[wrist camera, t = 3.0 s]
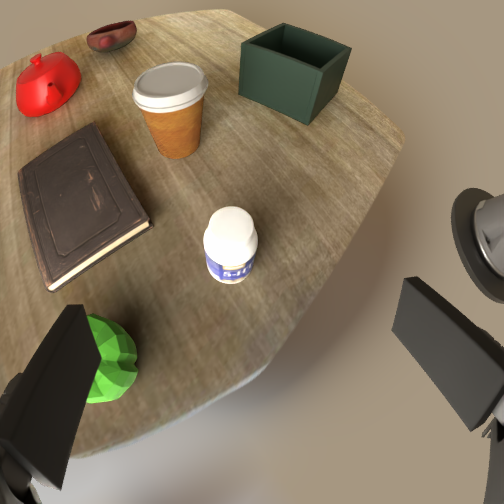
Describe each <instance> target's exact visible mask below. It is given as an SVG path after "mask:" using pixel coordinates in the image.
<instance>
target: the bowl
mask: <svg viewBox="0 0 504 504" xmlns="http://www.w3.org/2000/svg"><path fill="white" fill-rule="evenodd" d="M136 33H137V29H136V25H135V23H134V22H133V21H123V22H119V23H114V24H110V25H107V26H104V27H101V28H99V29H97V30H95V31H93V32H91V33H90V34H89V35H88V36H87V44H88V46H89V48H90V49H92V50H94V51H98V52H109V51H112V50H116V49H119V48H121V47H123V46H125V45H127V44H128V43H130V42H131V41H132V40H133V39H134V37H135V35H136Z"/></svg>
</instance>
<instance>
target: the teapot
mask: <svg viewBox="0 0 504 504" xmlns="http://www.w3.org/2000/svg"><path fill="white" fill-rule="evenodd" d="M41 57H42V55H41V54H37V55H35V56H34V57H33V58H31V59H30V62H31V63H32V64H31V65H30V66H28V67H27V68H26V69H25V70H24V71H23V72H22V73H21V74H20V76H19V77H18V79H17V83H16V102H17V106H18V109H19V111H20V112H22V113H23V114H24V115H25V116H27V117H38V116H42V115H45V114H48V113H50V112H52V111H54V110H56V109H57V108H59V107H60V106H62V105H63V104H64V103H65V102H67V100H69V98H70V97H71V96H72V95H73V94H74V93H75V91H76V90H77V88H78V85H79V83H80V81H81V73H80V69H79V68H78V66H77V64H76V63H75V62H74V61H73V60H72V59H70V58H69V57H68V56H67V55H65V54H64V53H62V52H56V53H51V54H49V55H46V56H44V57H42V58H41Z"/></svg>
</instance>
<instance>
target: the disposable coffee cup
mask: <svg viewBox="0 0 504 504" xmlns="http://www.w3.org/2000/svg"><path fill="white" fill-rule="evenodd" d="M207 87H208V79H207V77H206V76H205V75H204V73H203V70H202V69H201V68H200V67H199V66H197V65H195V64H193V63H188V62H168V63H163V64H160V65H157V66H154V67H152V68H150V69H148V70H146V71H145V72H143V73H142V74H141V75H140V76H139V77H138V78H137V79H136V81H135V83H134V89H133V93H132V97H133V100H134V102H135V103H136V104H137V105H138V106H139V107H140V110H141V112H142V114H143V116H144V119H145V121H146V123H147V126H148V128H149V130H150V132H151V134H152V137H153V139H154V141H155V143H156V145H157V148H158V150H159V152H160V153H161V154H162V155H163V156H165V157H168V158H172V159H178V158H183V157H186V156H189V155H190V154H192V153H193V152H194V151H196V149H197V148H198V146H199V143H200V132H201V121H202V110H203V100H204V93H205V92H206V90H207Z"/></svg>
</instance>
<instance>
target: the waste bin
mask: <svg viewBox="0 0 504 504" xmlns="http://www.w3.org/2000/svg"><path fill="white" fill-rule="evenodd" d="M351 49H352V48H350V47H347V46H345V45H343V44H341V43H338V42H336V41H334V40H331V39H328V38H326V37H323V36H321V35H318V34H315V33H313V32H309V31H307V30H304V29H301V28H298V27H295V26H292V25H289V24H286V23H282V24H279V25H277V26H275V27H273V28H271V29H269V30H266V31H264V32H262V33H260V34H258V35H256V36H254V37H252V38H250V39H248V40H246V41H244V42H243V43H241V57H240V74H239V93H238V94H239V95H241V96H243V97H246V98H248V99H251V100H253V101H256V102H258V103H260V104H263V105H265V106H267V107H269V108H272V109H274V110H276V111H278V112H280V113H283V114H285V115H287V116H289V117H291V118H293V119H295V120H297V121H299V122H302V123H304V124H306V125H309V124H310V123H311V122H312V120H313V119H314V118H315V117H316V116H317V115H318V114H319V112H320V111H321V110H322V109H323V108H324V107H325V106H326V105H327V103H328V102H329V101H330V100H331V99H332V98H333V97H334V96H335V94H336V93H337V91H338V89H339V86H340V83H341V80H342V77H343V73H344V71H345V67H346V65H347V62H348V59H349V56H350V53H351Z"/></svg>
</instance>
